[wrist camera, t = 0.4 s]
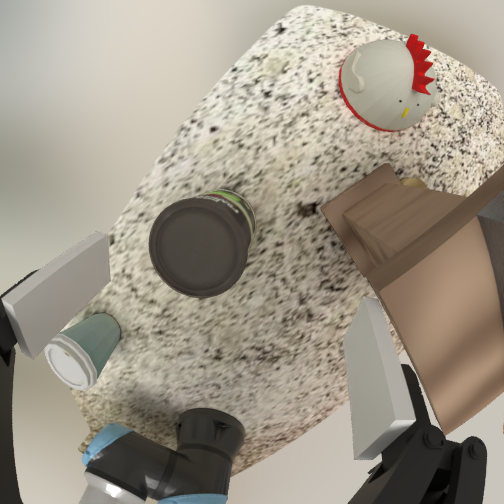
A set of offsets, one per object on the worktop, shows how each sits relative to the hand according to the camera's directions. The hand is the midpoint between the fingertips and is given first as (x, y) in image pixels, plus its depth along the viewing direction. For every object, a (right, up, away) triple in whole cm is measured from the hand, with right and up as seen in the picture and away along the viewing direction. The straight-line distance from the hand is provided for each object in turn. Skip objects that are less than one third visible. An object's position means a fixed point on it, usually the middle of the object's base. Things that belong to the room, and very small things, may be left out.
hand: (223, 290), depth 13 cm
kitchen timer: (+21, +26, +21) cm, 39 cm away
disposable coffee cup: (-27, -12, +36) cm, 46 cm away
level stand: (+19, +7, +27) cm, 33 cm away
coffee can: (-3, +6, +29) cm, 30 cm away
